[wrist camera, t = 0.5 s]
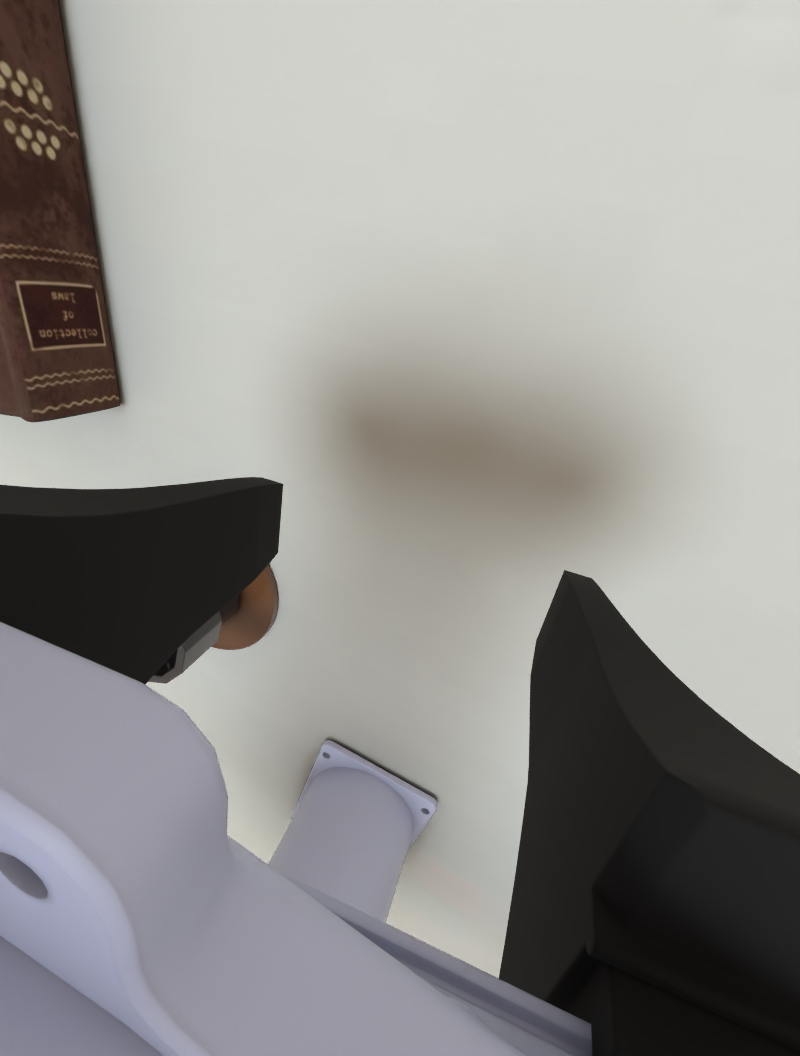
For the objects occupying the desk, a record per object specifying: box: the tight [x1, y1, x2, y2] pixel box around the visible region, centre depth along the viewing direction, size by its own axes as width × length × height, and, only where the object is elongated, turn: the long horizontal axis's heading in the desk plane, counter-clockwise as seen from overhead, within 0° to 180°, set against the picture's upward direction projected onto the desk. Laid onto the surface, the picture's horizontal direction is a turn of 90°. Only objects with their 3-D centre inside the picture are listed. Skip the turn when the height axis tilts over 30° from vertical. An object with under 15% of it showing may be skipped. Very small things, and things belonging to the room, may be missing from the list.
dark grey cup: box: [148, 593, 240, 683], centre depth 25 cm, size 6×7×5 cm
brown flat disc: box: [211, 565, 278, 650], centre depth 27 cm, size 9×9×1 cm
